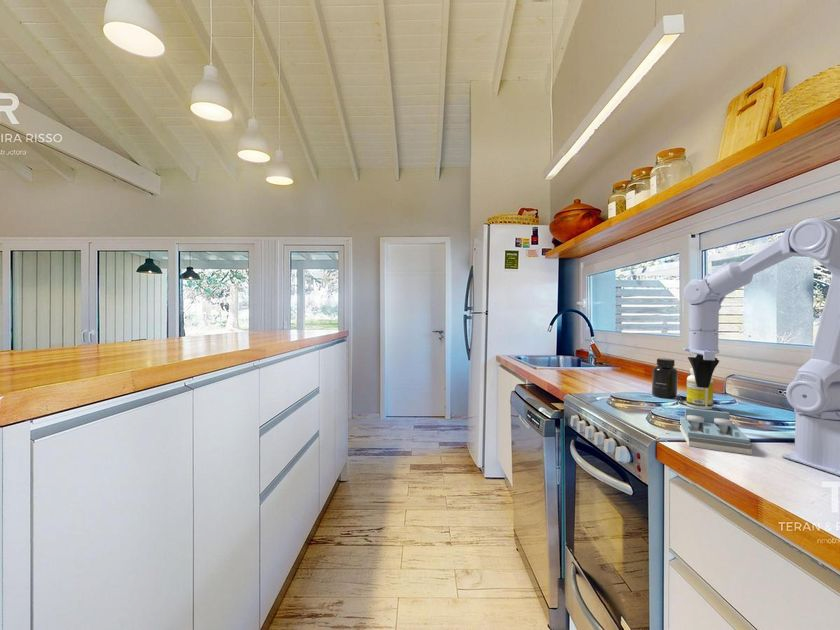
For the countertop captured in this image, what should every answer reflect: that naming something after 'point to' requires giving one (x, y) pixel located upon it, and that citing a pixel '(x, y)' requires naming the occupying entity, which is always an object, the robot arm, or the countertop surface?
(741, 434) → the panel
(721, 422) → the boss board
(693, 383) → the pill bottle
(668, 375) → the supplement bottle
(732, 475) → the countertop surface
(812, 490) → the countertop surface
